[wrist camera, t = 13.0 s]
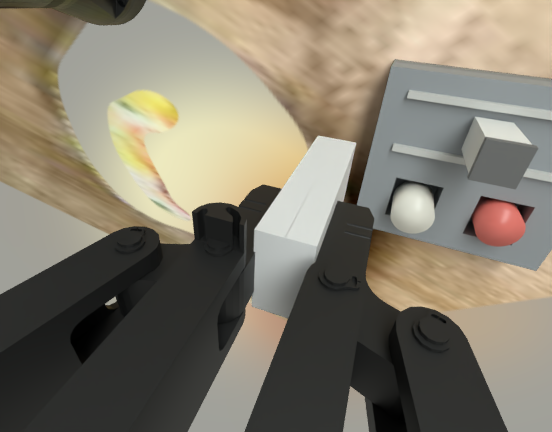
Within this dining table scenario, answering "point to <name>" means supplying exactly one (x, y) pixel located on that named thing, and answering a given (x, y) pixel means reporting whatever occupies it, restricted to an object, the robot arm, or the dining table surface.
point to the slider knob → (497, 152)
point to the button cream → (413, 207)
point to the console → (460, 154)
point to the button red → (497, 222)
